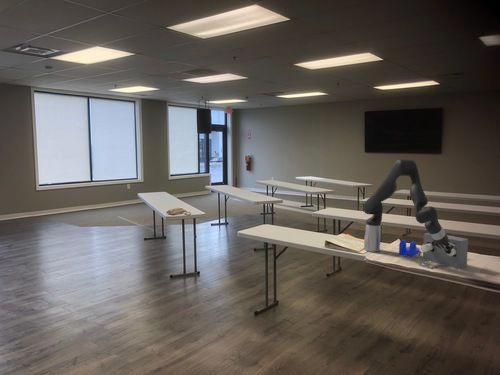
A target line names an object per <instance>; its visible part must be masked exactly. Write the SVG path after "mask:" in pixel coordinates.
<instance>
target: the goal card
mask: <svg viewBox="0 0 500 375" xmlns="http://www.w3.org/2000/svg"><path fill="white" fill-rule="evenodd" d="M418 266H419V267H423V268H426V267H427V269H430V270H432V269H435V268H438V265H434V264H429V263H427V262H422V263H420V264H418Z"/></svg>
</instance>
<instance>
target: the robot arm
mask: <svg viewBox="0 0 500 375" xmlns="http://www.w3.org/2000/svg"><path fill="white" fill-rule="evenodd" d="M402 176H403V177H405V176H407V177H409V178H410V180H411V184H410V187H409V188H410V189H409V195H410V198H411V201H412V202H413V207H414V216H415V217H414V218H415V220H416V222H417V223H419V224H424V226H425V227H424V228H426V230H427V233H429V235H430V236H431V238H432V239H433V241H432V243H433V244H434V245H436V246H437V247H439V248H440V249H443V250H445V252H446V253H447V254H450V253H451V250H452V249H453V248H454V246H455V243H453V244H452V243H450V241H449V240H448V236H447V235H448V234H447V232H446V231H445V229H444V228H443V227H442V226H441V224H440V222H439V219H438V212H437V209H436V208H435V207H434V206H427V205H428V203H429V202H428V198H427V196H426V194H425V192H424V189H423V186H422V183H421V177H420V174H419V170H418V166H417V164H416V162H415V160H413V159H404V158H403V159H397V160H396V161H395V162H394V163H393V165H392V167H391V169H390V171H389V172H388V174H387V175H386V177H385V178H384V179H383V181H381V183H380V184H379V186H378V187H377V189H376V190H375V191H374V192H373V194H371V196H369V198H367V199H366V201H365V202H364V204H363V207H362V208H363V209H362V210H363V213H365V215H372V216H371V217H370V218H367V219H366V220H365V234H364V236H363V237H364V242H363V245H364V246H363V249H364V250H365V251H366V252H370V253H371V252H372V253H373V252H374V253H375V252H376V253H377V252H380V250H381V229H382V228H381V227H382V226H381V225H382V220H383V209H384V208H383V203H382V202H384V201H386V200H387V199H389V198H391V197H392V195H393V194H394V193H395V192H396V191H397V188H398V187H397V180H398V179H399V178H400V177H402ZM426 206H427V207H426ZM449 245H450V246H449Z"/></svg>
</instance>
